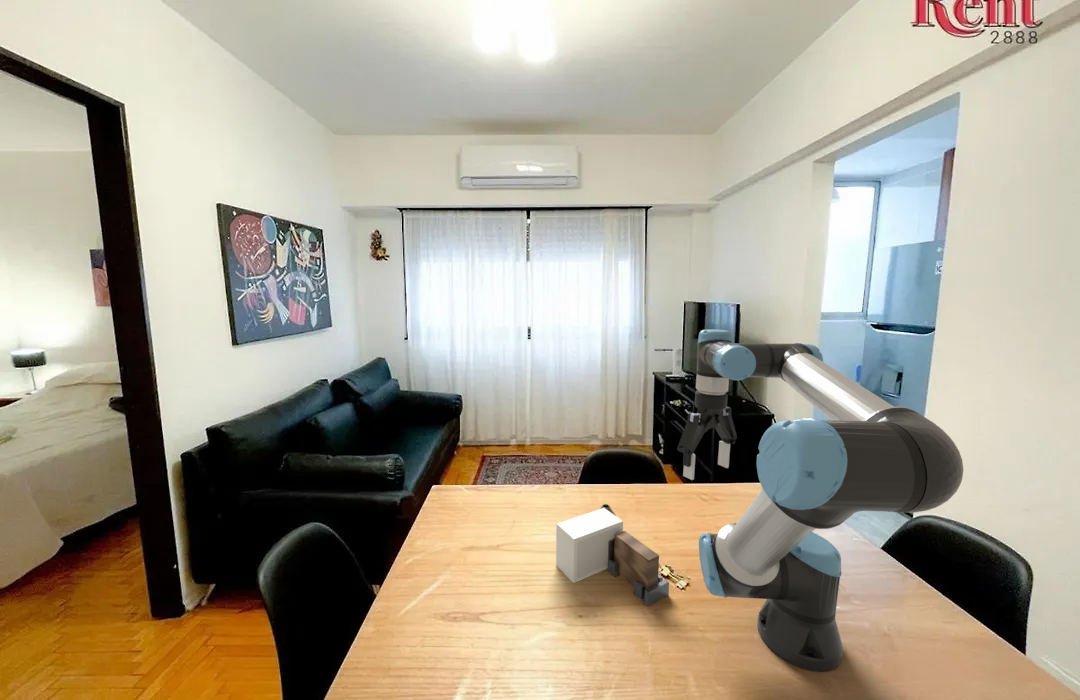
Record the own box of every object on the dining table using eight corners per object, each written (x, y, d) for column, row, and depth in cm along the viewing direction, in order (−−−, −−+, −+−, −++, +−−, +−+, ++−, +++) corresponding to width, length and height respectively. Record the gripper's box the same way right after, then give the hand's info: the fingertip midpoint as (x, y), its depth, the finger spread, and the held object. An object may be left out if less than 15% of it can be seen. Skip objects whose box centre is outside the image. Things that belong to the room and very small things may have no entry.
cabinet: (622, 562, 112) (623, 521, 111) (573, 583, 104) (574, 539, 102) (602, 546, 119) (603, 507, 117) (556, 565, 111) (556, 523, 109)
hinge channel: (668, 594, 100) (670, 564, 99) (647, 606, 97) (648, 574, 96) (626, 560, 113) (627, 533, 112) (606, 569, 110) (606, 541, 108)
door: (657, 593, 101) (659, 555, 100) (646, 598, 99) (648, 560, 98) (623, 565, 111) (624, 530, 110) (613, 569, 110) (614, 534, 108)
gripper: (729, 382, 113) (724, 456, 116) (664, 394, 101) (660, 477, 104) (755, 388, 107) (749, 466, 110) (690, 401, 94) (685, 489, 97)
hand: (706, 471), depth 107 cm, fingers open, 13 cm apart
